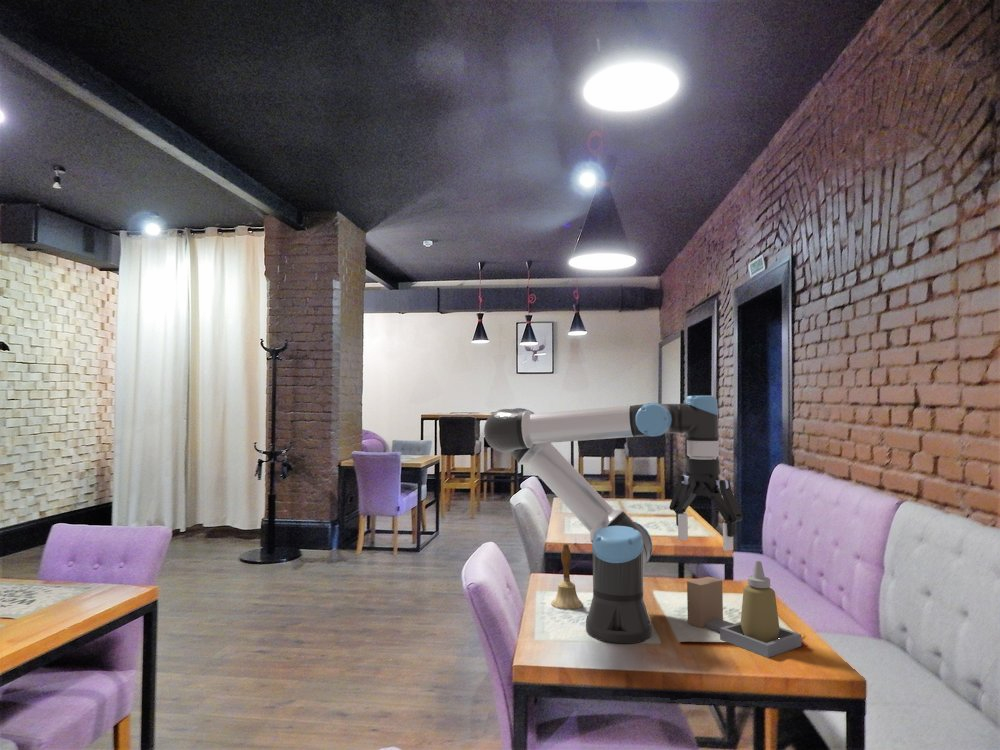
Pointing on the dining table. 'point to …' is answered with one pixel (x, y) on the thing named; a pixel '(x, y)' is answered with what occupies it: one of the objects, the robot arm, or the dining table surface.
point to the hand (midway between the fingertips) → (704, 544)
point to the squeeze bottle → (759, 608)
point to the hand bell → (566, 585)
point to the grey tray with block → (709, 613)
